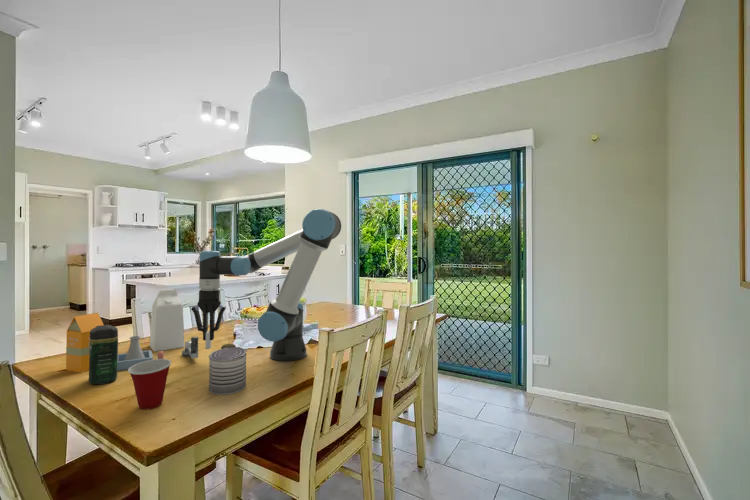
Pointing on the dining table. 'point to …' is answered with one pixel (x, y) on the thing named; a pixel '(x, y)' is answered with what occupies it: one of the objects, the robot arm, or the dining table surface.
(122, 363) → the tray
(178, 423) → the dining table surface
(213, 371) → the can
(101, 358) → the coffee jar
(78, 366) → the orange juice
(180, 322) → the milk
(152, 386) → the plastic cup
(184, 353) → the crank base
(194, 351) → the crank
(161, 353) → the stop post
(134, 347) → the flask
